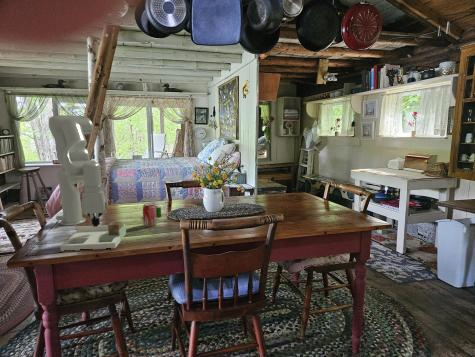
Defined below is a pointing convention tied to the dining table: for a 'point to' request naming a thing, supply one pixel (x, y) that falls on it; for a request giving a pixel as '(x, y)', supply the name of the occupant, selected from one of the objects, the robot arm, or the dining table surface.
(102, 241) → the trap board
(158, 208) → the puzzle toy
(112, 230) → the walnut block
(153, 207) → the soda can
